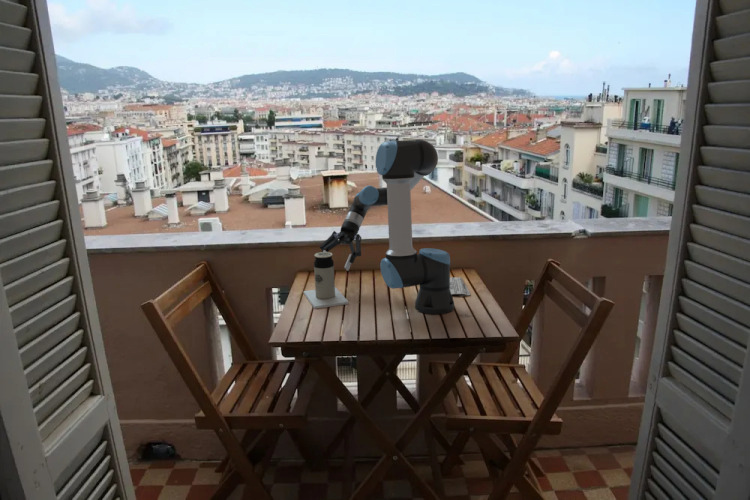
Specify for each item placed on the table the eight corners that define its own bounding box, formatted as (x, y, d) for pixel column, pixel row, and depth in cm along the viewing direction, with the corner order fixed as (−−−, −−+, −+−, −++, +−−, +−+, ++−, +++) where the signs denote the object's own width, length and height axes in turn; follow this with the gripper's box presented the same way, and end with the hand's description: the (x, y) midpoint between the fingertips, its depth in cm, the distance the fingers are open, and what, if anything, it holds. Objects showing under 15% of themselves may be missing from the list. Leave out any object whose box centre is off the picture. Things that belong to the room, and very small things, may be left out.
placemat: (348, 304, 222) (348, 301, 222) (314, 308, 218) (314, 306, 218) (335, 289, 241) (335, 287, 240) (303, 293, 236) (303, 291, 236)
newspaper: (471, 298, 228) (470, 292, 227) (441, 300, 229) (440, 295, 228) (466, 280, 250) (466, 275, 249) (439, 283, 251) (438, 278, 250)
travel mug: (327, 291, 235) (325, 250, 230) (338, 296, 229) (337, 254, 224) (312, 296, 230) (309, 254, 225) (322, 300, 224) (320, 258, 219)
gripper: (379, 232, 236) (361, 275, 228) (332, 226, 249) (313, 267, 241) (372, 222, 231) (353, 266, 222) (324, 217, 244) (305, 258, 235)
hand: (332, 266), depth 232 cm, fingers open, 13 cm apart
